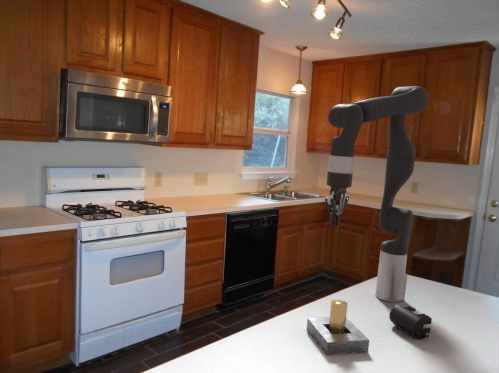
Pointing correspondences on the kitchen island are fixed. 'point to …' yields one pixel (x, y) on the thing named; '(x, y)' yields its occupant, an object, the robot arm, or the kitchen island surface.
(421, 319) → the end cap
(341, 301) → the gold cylinder
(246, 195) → the kitchen island surface
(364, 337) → the jig
